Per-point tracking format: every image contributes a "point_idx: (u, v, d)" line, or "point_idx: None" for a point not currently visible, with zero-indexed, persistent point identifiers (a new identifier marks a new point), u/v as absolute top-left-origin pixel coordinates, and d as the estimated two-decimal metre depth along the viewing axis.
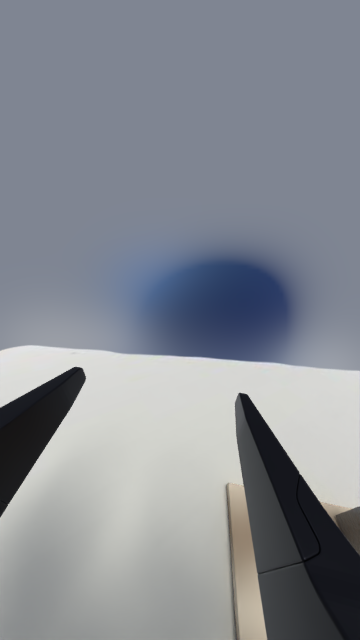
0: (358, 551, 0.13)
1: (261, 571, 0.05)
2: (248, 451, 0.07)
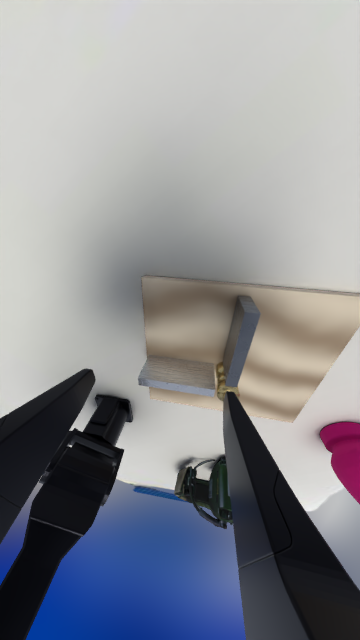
0: (234, 318, 0.16)
1: (241, 565, 0.05)
2: (232, 448, 0.07)
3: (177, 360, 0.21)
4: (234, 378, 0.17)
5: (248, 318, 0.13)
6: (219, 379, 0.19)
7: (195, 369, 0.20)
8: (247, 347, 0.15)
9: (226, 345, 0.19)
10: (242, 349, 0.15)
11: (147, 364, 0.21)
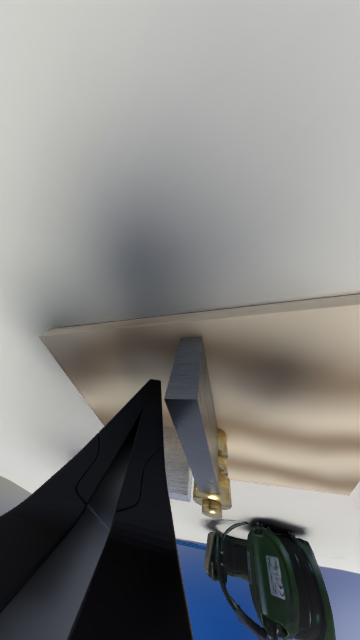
0: None
1: None
2: None
3: None
4: (208, 485, 0.09)
5: (178, 408, 0.06)
6: None
7: None
8: (204, 449, 0.07)
9: None
10: (197, 451, 0.07)
11: None
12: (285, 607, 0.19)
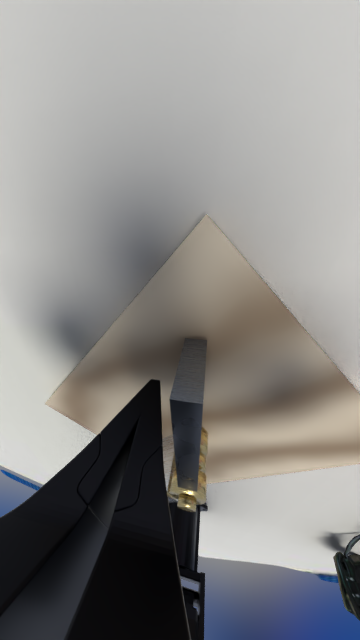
0: None
1: None
2: None
3: None
4: (189, 481, 0.09)
5: (181, 409, 0.06)
6: None
7: None
8: (195, 449, 0.07)
9: None
10: (187, 451, 0.08)
11: None
12: None
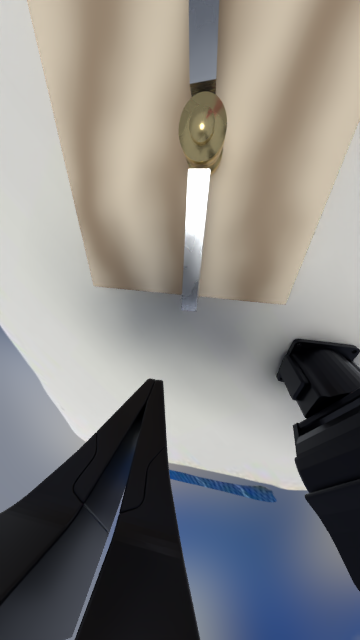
0: None
1: None
2: None
3: None
4: (205, 32, 0.07)
5: None
6: None
7: None
8: None
9: None
10: None
11: None
12: None
